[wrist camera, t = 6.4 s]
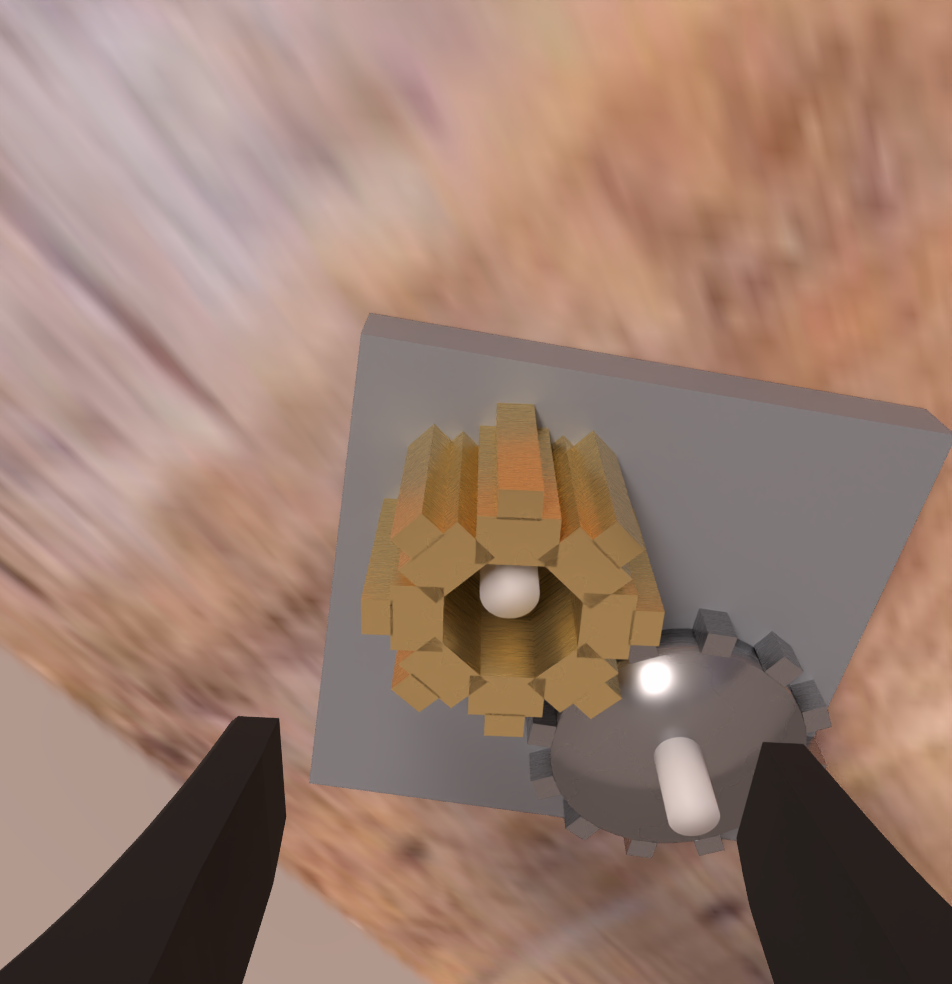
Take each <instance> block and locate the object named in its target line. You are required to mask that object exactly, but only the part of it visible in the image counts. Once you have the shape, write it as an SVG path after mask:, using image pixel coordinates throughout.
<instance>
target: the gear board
mask: <svg viewBox="0 0 952 984" xmlns="http://www.w3.org/2000/svg"><path fill="white" fill-rule="evenodd" d="M497 403H519V404H534V408H535V417H536V425H537V428H548V430H549V436H550V443H551V445H552V444H553V443H554V442H555V441H557V440H558V439H559V438H560V437H562V436H563V435H564V436H565V437H566V438H567V439H568V440H569V441H570V442H571V443H572V444H573V445H575V444H577V443H578V442H579V441H580V440H582V439H583V438H584V437H586V436H587V435H588V434H589V433H591V432H592V431H593V430H594V432H595V433H596V434H597V435H598V436H599V437H600V438H601V439H602V440H603V441H604V442H605V443H606V444H607V445H608V447H609V448H610V449H611V450H612V451H613V452H614V453H615V454H616V456H617V459H618V462H619V466H620V469H621V472H622V476H623V479H624V482H625V486H626V489H627V492H628V496H629V499H630V502H631V506H632V509H634V511H635V514H636V518H637V521H638V524H639V528H640V531H641V534H642V538H643V541H644V544H645V548H646V551H647V554H648V558H649V561H650V564H651V568H652V571H653V574H654V578H655V581H656V584H657V588H658V591H659V594H660V597H661V601H662V604H663V607H664V611H665V614H664V620H663V626H662V630H665V629H683V628H690V629H692V627H693V625H694V622H695V619H696V616H697V613H698V611H699V608H701V609H708V610H714V611H721V612H727V613H728V616H729V618H730V620H731V623H732V625H733V628H734V630H735V633H736V635H737V639H739V640H741V641H744V642H746V643H748V644H750V645H752V646H753V647H754V645H755V644H757V643H758V642H759V641H760V640H761V639H763V638H764V637H765V636H766V635H768V634H769V633H770V632H771V631H773V632H774V633H775V634H777V635H778V636H779V637H780V638H782V639H783V640H784V641H786V642H787V643H788V644H789V645H791V647H792V649H793V651H794V653H795V655H796V657H797V659H798V661H799V663H800V665H801V667H802V669H803V671H804V672H803V673H802V674H801V675H799V676H798V677H797V678H795V679H794V680H793V681H791V682H790V683H789V684H788V685H789V687H790V685H794V684H797V683H801V682H805V681H809V680H814V682H815V684H816V686H817V688H818V690H819V692H820V694H821V696H822V698H823V700H824V702H825V704H826V706H827V708H828V706H829V704H830V702H831V699H832V697H833V695H834V693H835V691H836V689H837V687H838V685H839V683H840V680H841V678H842V676H843V674H844V672H845V670H846V668H847V666H848V664H849V661H850V659H851V657H852V655H853V653H854V651H855V649H856V647H857V645H858V642H859V640H860V638H861V636H862V634H863V632H864V630H865V628H866V626H867V623H868V621H869V619H870V617H871V615H872V613H873V611H874V609H875V607H876V604H877V602H878V600H879V598H880V596H881V594H882V592H883V590H884V588H885V585H886V583H887V581H888V579H889V577H890V575H891V573H892V571H893V569H894V566H895V564H896V562H897V560H898V558H899V556H900V554H901V552H902V550H903V547H904V545H905V543H906V541H907V539H908V537H909V535H910V533H911V531H912V528H913V526H914V524H915V522H916V520H917V518H918V516H919V514H920V512H921V510H922V507H923V505H924V503H925V501H926V499H927V497H928V495H929V493H930V491H931V488H932V486H933V484H934V482H935V480H936V478H937V476H938V474H939V472H940V469H941V467H942V465H943V463H944V461H945V459H946V457H947V455H948V453H949V450H950V448H951V446H952V431H951V430H950V429H948V428H947V427H946V426H945V425H944V424H943V423H941V422H940V421H939V420H938V419H937V418H936V417H935V416H933V415H932V414H931V413H930V412H929V411H928V410H927V409H923V408H917V407H911V406H905V405H900V404H894V403H888V402H882V401H877V400H871V399H865V398H859V397H853V396H848V395H842V394H836V393H830V392H824V391H819V390H813V389H807V388H801V387H795V386H790V385H784V384H778V383H772V382H766V381H761V380H755V379H749V378H743V377H737V376H732V375H726V374H720V373H714V372H709V371H703V370H697V369H691V368H685V367H680V366H674V365H668V364H662V363H656V362H651V361H645V360H639V359H633V358H627V357H622V356H616V355H610V354H604V353H598V352H593V351H587V350H581V349H575V348H569V347H564V346H558V345H552V344H546V343H541V342H535V341H529V340H523V339H517V338H512V337H506V336H500V335H494V334H488V333H483V332H477V331H471V330H465V329H459V328H454V327H448V326H442V325H436V324H430V323H425V322H419V321H413V320H407V319H401V318H396V317H390V316H384V315H378V314H373V313H370V314H369V316H368V318H367V321H366V323H365V326H364V328H363V330H362V333H361V338H360V347H359V355H358V364H357V373H356V381H355V390H354V399H353V408H352V416H351V425H350V434H349V442H348V451H347V460H346V468H345V477H344V486H343V494H342V503H341V512H340V520H339V529H338V538H337V546H336V555H335V564H334V572H333V581H332V590H331V598H330V607H329V616H328V624H327V633H326V642H325V650H324V659H323V668H322V676H321V685H320V694H319V702H318V711H317V720H316V728H315V737H314V746H313V755H312V763H311V772H310V781H309V783H312V784H320V785H327V786H334V787H342V788H349V789H357V790H364V791H371V792H379V793H386V794H394V795H401V796H408V797H416V798H423V799H431V800H438V801H445V802H453V803H460V804H468V805H475V806H482V807H490V808H497V809H505V810H512V811H519V812H527V813H534V814H542V815H549V816H556V817H564V808H563V799H564V797H563V796H562V794H561V795H557V796H553V797H549V798H545V799H541V800H539V799H538V797H537V795H536V792H535V790H534V788H533V786H532V784H531V781H530V763H529V753H532V752H536V751H540V750H543V749H547V748H550V747H543V746H536V745H529V744H527V727H526V717H525V721H524V732H523V737H508V736H484V715H472V714H468V696H467V697H466V698H465V699H463V700H462V701H460V702H459V703H458V704H456V705H455V706H453V707H452V708H450V707H449V706H448V705H446V704H445V703H444V702H443V701H442V700H440V699H439V698H438V699H437V700H436V701H434V702H433V703H431V704H430V705H429V706H427V707H426V708H425V709H423V710H422V711H420V712H418V711H417V710H416V709H414V708H413V707H412V706H411V705H410V704H408V703H407V702H406V701H405V700H403V699H402V698H401V697H400V696H398V695H397V694H396V693H395V692H394V691H392V690H391V686H392V679H393V673H394V666H395V659H396V653H397V650H391V639H390V635H370V634H362V626H361V597H362V592H363V588H364V583H365V579H366V574H367V570H368V566H369V561H370V557H371V552H372V548H373V544H374V539H375V535H376V530H377V526H378V521H379V517H380V513H381V508H382V504H383V499H384V498H391V499H398V496H399V491H400V485H401V480H402V475H403V470H404V465H405V460H406V455H407V450H408V446H409V445H410V444H411V443H412V442H414V441H415V440H416V439H417V438H418V437H419V436H420V435H422V434H423V433H424V432H425V431H426V430H427V429H429V428H430V427H431V426H432V425H433V424H435V425H436V426H437V427H438V428H439V429H440V430H441V431H442V432H443V433H444V434H445V435H446V436H447V437H448V438H450V439H451V440H453V439H454V438H455V437H457V436H458V435H459V434H460V433H461V432H462V431H464V432H465V433H466V434H467V435H468V436H469V437H470V438H471V439H472V440H473V441H474V442H475V443H476V444H477V445H478V446H479V425H482V426H496V408H497ZM539 597H540V589H539V578H538V566H520V565H496V564H486V565H485V566H483V567H482V568H481V569H480V599H481V602H482V604H483V606H484V607H485V608H486V609H487V610H488V611H489V612H490V613H492V614H493V615H495V616H498V617H501V618H517V617H521V616H524V615H526V614H527V613H529V612H530V611H532V610H533V609H534V607H535V606H536V605H537V603H538V600H539ZM815 733H816V731H813V732H809V733H807V731H806V734H807V736H809V737H814V735H815ZM654 761H655V765H656V770H657V774H658V779H659V783H660V788H661V792H662V796H663V801H664V805H665V810H666V814H667V819H668V823H669V825H670V827H671V828H672V829H673V830H674V831H675V832H677V833H679V834H681V835H685V836H698V835H702V834H705V833H707V832H709V831H711V830H712V829H714V828H715V827H716V825H717V824H718V822H719V820H720V812H719V809H718V805H717V802H716V798H715V795H714V792H713V788H712V785H711V781H710V778H709V775H708V771H707V768H706V764H705V761H704V758H703V754H702V751H701V748H700V746H699V745H698V743H696V742H695V741H694V740H692V739H689V738H685V737H674V738H670V739H668V740H665V741H664V742H662V743H661V744H660V745H659V746H658V747H657V748H656V750H655V752H654ZM738 830H739V827H738V828H736V829H734V830H731V831H728V832H726V833H723V834H720V836H721V839H727V840H734V841H737V839H736V837H737V834H738Z"/></svg>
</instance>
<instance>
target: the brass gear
mask: <svg viewBox="0 0 952 984" xmlns="http://www.w3.org/2000/svg"><path fill="white" fill-rule="evenodd" d="M486 564H496V565H520V566H538V578H539V589H540V597H539V600H538V603H537V605H536V606H535V607H534V609H533V610H532V611H530V612H529V613H527V614H526V615H524V616H521V617H517V618H501V617H498V616H495V615H493V614H492V613H490V612H489V611H488V610H487V609H486V608H485V607H484V606H483V604H482V602H481V599H480V569H481V568H482V567H483V566H485V565H486ZM664 614H665V611H664V607H663V604H662V601H661V597H660V594H659V591H658V588H657V584H656V581H655V578H654V574H653V571H652V568H651V564H650V561H649V558H648V554H647V551H646V548H645V544H644V541H643V538H642V534H641V531H640V528H639V524H638V521H637V518H636V514H635V511H634V509H632V506H631V502H630V499H629V496H628V492H627V489H626V486H625V482H624V479H623V476H622V472H621V469H620V466H619V462H618V459H617V456H616V454H615V453H614V452H613V451H612V450H611V449H610V448H609V447H608V445H607V444H606V443H605V442H604V441H603V440H602V439H601V438H600V437H599V436H598V435H597V434H596V433H595V432H594V430H593V431H592V432H591V433H589V434H588V435H587V436H586V437H584V438H583V439H582V440H580V441H579V442H578V443H577V444H575V445H573V444H572V443H571V442H570V441H569V440H568V439H567V438H566V437H565V436H564V435H563V436H562V437H560V438H559V439H558V440H557V441H555V442H554V443H553V444H552V445H551V443H550V436H549V430H548V428H537V425H536V417H535V408H534V404H519V403H497V408H496V426H482V425H479V446H478V445H477V444H476V443H475V442H474V441H473V440H472V439H471V438H470V437H469V436H468V435H467V434H466V433H465V432H464V431H462V432H461V433H460V434H459V435H458V436H457V437H455V438H454V439H453V440H451V439H450V438H448V437H447V436H446V435H445V434H444V433H443V432H442V431H441V430H440V429H439V428H438V427H437V426H436V425H435V424H433V425H432V426H431V427H430V428H429V429H427V430H426V431H425V432H424V433H423V434H422V435H420V436H419V437H418V438H417V439H416V440H415V441H414V442H412V443H411V444H410V445H409V446H408V450H407V455H406V460H405V465H404V470H403V475H402V480H401V485H400V491H399V496H398V499H391V498H384V499H383V504H382V508H381V513H380V517H379V521H378V526H377V530H376V535H375V539H374V544H373V548H372V552H371V557H370V561H369V566H368V570H367V574H366V579H365V583H364V588H363V592H362V597H361V626H362V634H370V635H390V639H391V650H397V653H396V659H395V666H394V673H393V679H392V686H391V690H392V691H394V692H395V693H396V694H397V695H398V696H400V697H401V698H402V699H403V700H405V701H406V702H407V703H408V704H410V705H411V706H412V707H413V708H414V709H416V710H417V711H418V712H420V711H422V710H423V709H425V708H426V707H427V706H429V705H430V704H431V703H433V702H434V701H436V700H437V699H438V698H439V699H440V700H442V701H443V702H444V703H445V704H446V705H448V706H449V707H450V708H452V707H453V706H455V705H456V704H458V703H459V702H460V701H462V700H463V699H465V698H466V697H467V696H468V714H472V715H484V736H508V737H523V732H524V721H525V717H542V714H543V704H544V699H545V700H546V701H547V702H548V703H550V704H551V705H552V706H553V707H554V708H555V709H556V710H558V711H559V712H562V711H563V710H565V709H566V708H568V707H569V706H571V705H572V704H574V705H575V706H577V707H578V708H579V709H580V710H581V711H582V712H583V713H584V714H586V715H587V716H588V717H589V718H590V719H592V718H593V717H595V716H596V715H598V714H599V713H601V712H603V711H604V710H606V709H607V708H609V707H610V706H612V705H613V704H615V703H616V702H618V701H619V700H621V699H622V696H621V691H620V686H619V681H618V676H617V674H618V673H619V672H618V667H617V662H616V659H628V657H629V651H630V645H642V646H659V643H660V638H661V632H662V626H663V620H664Z"/></svg>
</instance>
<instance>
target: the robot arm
mask: <svg viewBox="0 0 952 984" xmlns="http://www.w3.org/2000/svg"><path fill="white" fill-rule="evenodd" d="M285 820H286V807H285V793H284V779H283V765H282V751H281V738H280V724H279V718H264V717H244V716H238V717H237V718H235V719H234V720H233V721H231V723H230V724H229V725H228V727H227V728H226V730H225V731H224V732H223V734H222V735H221V736H220V738H219V739H218V741H217V742H216V743H215V745H214V746H213V747H212V749H211V750H210V751H209V753H208V754H207V755H206V757H205V758H204V759H203V760H202V762H201V763H200V764H199V766H198V767H197V768H196V769H195V771H194V772H193V773H192V774H191V776H190V777H189V778H188V779H187V781H186V782H185V783H184V784H183V786H182V787H181V788H180V789H179V791H178V792H177V793H176V794H175V795H174V797H173V798H172V799H171V800H170V801H169V802H168V804H167V805H166V806H165V807H164V808H163V810H162V811H161V812H160V813H159V814H158V815H157V817H156V818H155V819H154V820H153V822H152V823H151V824H150V825H149V826H148V827H147V828H146V829H145V831H144V832H143V833H142V834H141V835H140V836H139V837H138V839H136V841H135V842H134V843H133V844H132V845H131V846H130V847H129V848H128V849H127V850H126V851H125V852H124V853H123V855H122V856H121V857H120V858H119V859H118V860H117V861H116V862H115V863H114V864H113V865H112V866H111V867H110V868H109V869H108V870H107V872H106V873H105V874H104V875H103V876H102V877H101V878H100V879H99V880H98V881H97V882H96V883H95V884H94V885H93V886H92V887H91V888H90V889H89V890H88V891H87V892H86V893H85V894H84V895H83V896H82V897H81V898H80V899H79V900H78V901H77V902H76V903H75V904H74V905H73V906H72V907H71V908H70V909H69V910H68V911H67V912H65V913H64V914H63V915H62V916H61V917H60V918H59V919H58V920H57V921H56V922H55V923H54V924H52V925H51V927H49V928H48V929H47V930H46V931H45V932H44V933H43V934H42V935H41V936H39V937H38V938H37V939H36V940H35V941H34V942H33V943H31V944H30V945H29V946H28V947H27V948H26V949H24V950H23V951H22V952H21V953H20V954H19V955H18V956H16V957H15V958H14V959H13V960H12V961H11V962H9V963H8V964H7V965H6V966H5V967H4V968H2V969H1V970H0V984H242V983H243V979H244V976H245V973H246V970H247V967H248V963H249V960H250V957H251V954H252V951H253V947H254V944H255V941H256V938H257V935H258V932H259V928H260V925H261V922H262V919H263V915H264V912H265V909H266V905H267V902H268V899H269V896H270V892H271V889H272V885H273V882H274V877H275V872H276V867H277V862H278V857H279V852H280V847H281V841H282V836H283V831H284V825H285ZM736 839H737V845H738V850H739V855H740V861H741V866H742V872H743V877H744V882H745V886H746V891H747V896H748V901H749V905H750V909H751V912H752V916H753V919H754V922H755V925H756V928H757V931H758V935H759V938H760V941H761V944H762V947H763V950H764V953H765V956H766V960H767V963H768V966H769V969H770V972H771V975H772V978H773V981H774V984H952V907H951V906H950V905H949V904H948V903H947V902H946V901H945V900H944V899H943V898H942V897H941V896H940V895H939V894H938V893H937V892H936V891H935V890H934V889H933V888H932V887H931V886H930V885H929V884H928V883H927V882H926V881H925V880H924V878H923V877H922V876H921V875H920V874H919V873H918V872H917V871H916V870H915V869H914V868H913V867H912V866H911V865H910V864H909V863H908V862H907V861H906V859H905V858H904V857H903V856H902V855H901V854H900V853H899V852H898V851H897V850H896V849H895V848H894V846H893V845H892V844H891V843H890V842H889V841H888V840H887V839H886V838H885V837H884V836H883V834H882V833H881V832H880V831H879V830H878V829H877V828H876V827H875V825H874V824H873V823H872V822H871V821H870V820H869V819H868V818H867V816H866V815H865V814H864V813H863V812H862V811H861V810H860V808H859V807H858V806H857V805H856V804H855V803H854V802H853V800H852V799H851V798H850V797H849V796H848V795H847V794H846V792H845V791H844V790H843V789H842V788H841V787H840V785H839V784H838V783H837V782H836V781H835V780H834V778H833V777H832V776H831V775H830V774H829V773H828V772H827V770H826V769H825V768H824V767H823V766H822V765H821V763H820V762H819V761H818V760H817V759H816V758H815V757H814V755H813V754H812V753H811V752H810V751H809V750H808V749H807V747H806V746H805V745H804V744H796V743H775V742H762V746H761V750H760V753H759V757H758V761H757V764H756V768H755V772H754V775H753V779H752V782H751V786H750V790H749V793H748V797H747V801H746V804H745V808H744V812H743V815H742V819H741V823H740V826H739V830H738V834H737V837H736Z"/></svg>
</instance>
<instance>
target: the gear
mask: <svg viewBox="0 0 952 984" xmlns="http://www.w3.org/2000/svg"><path fill="white" fill-rule="evenodd" d="M616 662H617V667H618V672H619V673H618V674H617V676H618V681H619V686H620V691H621V696H622V699H621V700H619V701H618V702H616V703H615V704H613V705H612V706H610V707H609V708H607V709H606V710H604V711H603V712H601V713H599V714H598V715H596V716H595V717H593V718H592V719H590V718H589V717H588V716H587V715H586V714H584V713H583V712H582V711H581V710H580V709H579V708H578V707H577V706H575V705H574V704H572V705H571V706H569V707H568V708H566V709H565V710H563V711H562V712H559V711H558V710H556V709H555V708H554V707H553V706H552V705H551V704H550V703H548V702H547V701H546V700H545V699H544V704H543V714H542V717H526V727H527V744H529V745H536V746H543V747H550V748H547V749H543V750H540V751H536V752H532V753H529V763H530V781H531V784H532V786H533V788H534V790H535V792H536V795H537V797H538V799H539V800H541V799H545V798H549V797H553V796H557V795H561V794H562V796H563V797H564V799H563V808H564V819H565V829H567V830H569V831H570V832H572V833H573V834H575V835H577V836H578V837H580V838H581V839H583V840H586V839H587V838H588V837H590V836H591V835H592V834H594V833H595V832H596V831H598V830H599V829H600V828H601V829H603V830H606V831H608V832H610V833H613V834H615V835H619V836H622V837H624V843H625V849H626V855H631V856H639V857H646V858H652V855H653V853H654V850H655V848H656V845H657V843H678V842H688V841H694V843H695V846H696V849H697V851H698V854H699V856H700V855H705V854H709V853H713V852H718V851H722V850H724V847H723V843H722V840H721V836H720V834H723V833H726V832H728V831H731V830H734V829H736V828H738V827H739V826H740V823H741V819H742V815H743V812H744V808H745V804H746V801H747V797H748V793H749V790H750V786H751V782H752V779H753V775H754V772H755V768H756V764H757V761H758V757H759V753H760V750H761V746H762V742H775V743H796V744H804V745H805V746H806V747H807V749H808V750H809V751H810V752H811V753H812V754H813V755H814V757H815V758H816V759H817V760H818V761H819V762H820V763H821V765H822V766H823V767H824V768H826V763H825V761H824V759H823V756H822V754H821V752H820V750H819V748H818V746H817V743H816V741H815V739H814V737H809V736H807V734H806V731H807V733H809V732H813V731H817V730H821V729H825V728H829V727H832V726H831V722H830V718H829V713H828V709H827V706H826V704H825V702H824V700H823V698H822V696H821V694H820V692H819V690H818V688H817V686H816V684H815V682H814V680H809V681H805V682H801V683H797V684H794V685H790V687H789V685H788V684H789V683H790V682H791V681H793V680H794V679H795V678H797V677H798V676H799V675H801V674H802V673H803V672H804V671H803V669H802V667H801V665H800V663H799V661H798V659H797V657H796V655H795V653H794V651H793V649H792V647H791V645H789V644H788V643H787V642H786V641H784V640H783V639H782V638H780V637H779V636H778V635H777V634H775V633H774V632H773V631H771V632H770V633H769V634H768V635H766V636H765V637H764V638H763V639H761V640H760V641H759V642H758V643H757V644H755V645H754V647H753V646H752V645H750V644H748V643H746V642H744V641H741V640H739V639H737V635H736V633H735V630H734V628H733V625H732V623H731V620H730V618H729V616H728V613H727V612H721V611H714V610H708V609H701V608H699V611H698V613H697V616H696V619H695V622H694V625H693V627H692V629H690V628H683V629H665V630H662V632H661V638H660V643H659V646H642V645H630V651H629V657H628V659H616ZM674 737H685V738H689V739H692V740H694V741H695V742H696V743H698V745H699V746H700V748H701V751H702V754H703V758H704V761H705V764H706V768H707V771H708V775H709V778H710V781H711V785H712V788H713V792H714V795H715V798H716V802H717V805H718V809H719V812H720V820H719V822H718V824H717V825H716V827H715V828H714V829H712V830H711V831H709V832H707V833H705V834H702V835H698V836H685V835H681V834H679V833H677V832H675V831H674V830H673V829H672V828H671V827H670V825H669V823H668V819H667V814H666V810H665V805H664V801H663V796H662V792H661V788H660V783H659V779H658V774H657V770H656V765H655V761H654V752H655V750H656V748H657V747H658V746H659V745H660V744H661V743H662V742H664V741H665V740H668V739H670V738H674Z"/></svg>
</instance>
